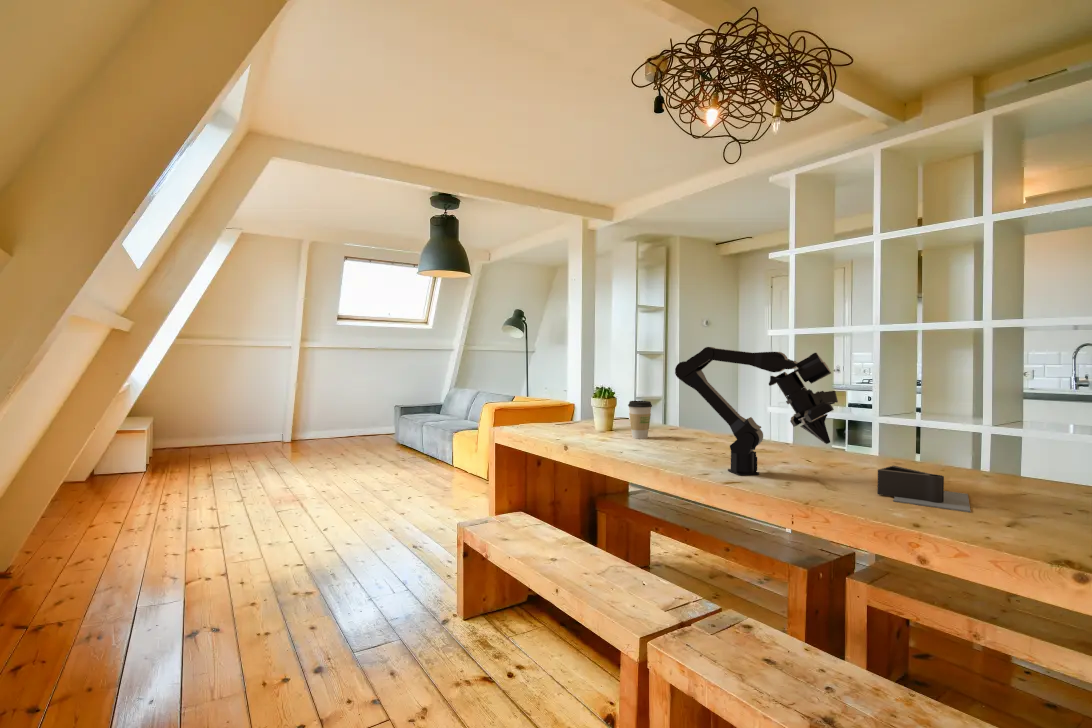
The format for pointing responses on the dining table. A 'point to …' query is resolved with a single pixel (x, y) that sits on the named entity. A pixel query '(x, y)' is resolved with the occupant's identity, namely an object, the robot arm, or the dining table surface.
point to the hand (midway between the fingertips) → (828, 443)
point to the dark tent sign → (910, 484)
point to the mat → (950, 502)
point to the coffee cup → (640, 418)
